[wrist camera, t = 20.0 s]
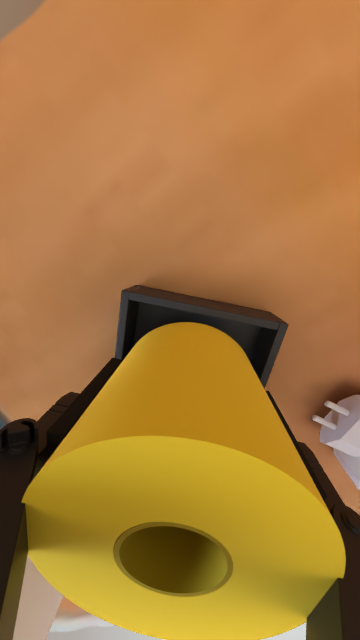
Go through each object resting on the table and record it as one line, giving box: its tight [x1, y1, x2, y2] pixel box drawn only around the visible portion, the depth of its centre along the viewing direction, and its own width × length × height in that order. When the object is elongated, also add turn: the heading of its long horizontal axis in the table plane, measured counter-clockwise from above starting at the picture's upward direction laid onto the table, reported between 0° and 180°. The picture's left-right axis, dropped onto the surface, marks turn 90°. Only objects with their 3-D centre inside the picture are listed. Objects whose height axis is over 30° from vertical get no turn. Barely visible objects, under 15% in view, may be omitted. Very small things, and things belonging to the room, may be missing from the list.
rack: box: [115, 285, 288, 389], centre depth 19 cm, size 12×24×4 cm, turn 169°
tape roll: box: [22, 322, 346, 640], centre depth 11 cm, size 10×10×9 cm
